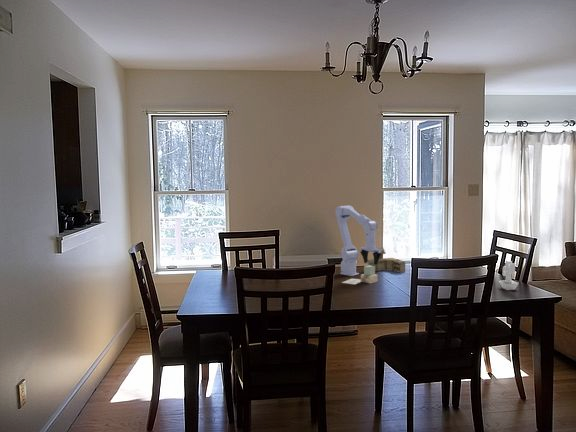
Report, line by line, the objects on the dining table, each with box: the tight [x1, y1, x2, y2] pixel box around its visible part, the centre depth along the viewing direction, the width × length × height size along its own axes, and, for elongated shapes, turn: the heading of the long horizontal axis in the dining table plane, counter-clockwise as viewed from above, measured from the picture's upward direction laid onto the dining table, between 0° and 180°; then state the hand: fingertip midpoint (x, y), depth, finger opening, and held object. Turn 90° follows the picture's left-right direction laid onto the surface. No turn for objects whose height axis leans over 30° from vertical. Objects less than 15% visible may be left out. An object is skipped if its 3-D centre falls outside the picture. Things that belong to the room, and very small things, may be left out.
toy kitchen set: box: [367, 246, 406, 274], centre depth 292 cm, size 18×17×15 cm
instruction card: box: [341, 278, 362, 285], centre depth 267 cm, size 9×12×1 cm
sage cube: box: [363, 264, 376, 276], centre depth 265 cm, size 4×4×5 cm
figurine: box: [498, 260, 519, 291], centre depth 239 cm, size 7×9×15 cm
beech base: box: [360, 273, 379, 284], centre depth 265 cm, size 7×7×4 cm
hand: (370, 263), depth 270 cm, fingers open, 7 cm apart
